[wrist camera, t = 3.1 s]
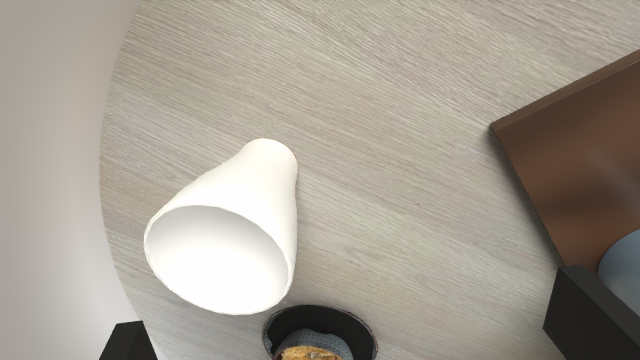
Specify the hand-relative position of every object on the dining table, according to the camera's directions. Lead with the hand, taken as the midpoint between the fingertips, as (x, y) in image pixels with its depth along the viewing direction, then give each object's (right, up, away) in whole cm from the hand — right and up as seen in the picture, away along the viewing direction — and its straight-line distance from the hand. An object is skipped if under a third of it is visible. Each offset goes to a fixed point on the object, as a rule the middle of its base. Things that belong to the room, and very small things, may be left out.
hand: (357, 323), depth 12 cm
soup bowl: (-2, -16, +38) cm, 41 cm away
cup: (-6, +6, +25) cm, 26 cm away
